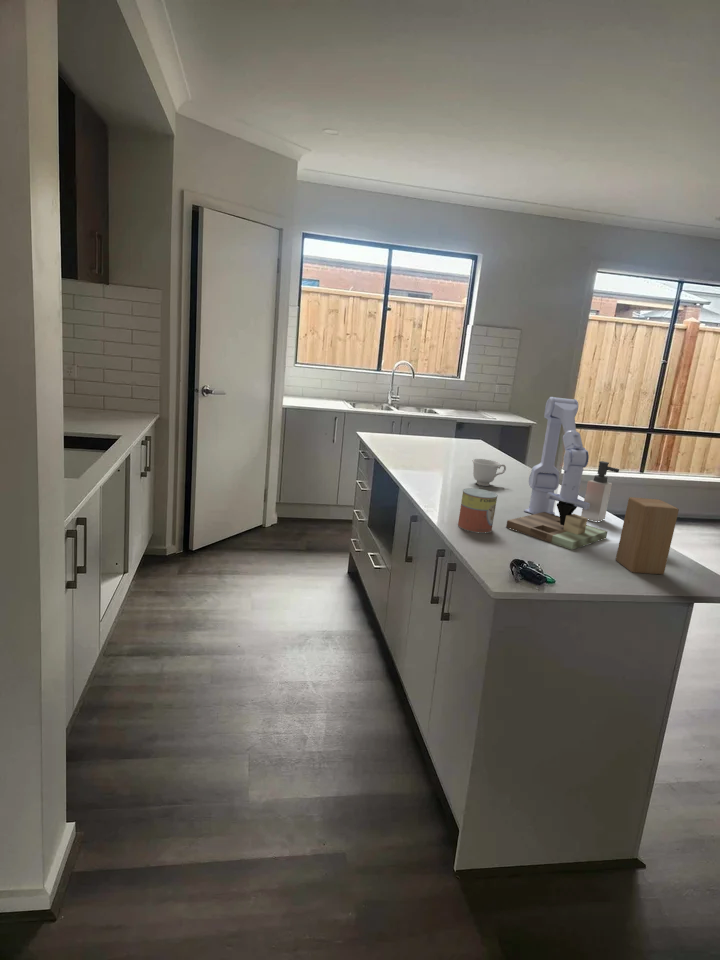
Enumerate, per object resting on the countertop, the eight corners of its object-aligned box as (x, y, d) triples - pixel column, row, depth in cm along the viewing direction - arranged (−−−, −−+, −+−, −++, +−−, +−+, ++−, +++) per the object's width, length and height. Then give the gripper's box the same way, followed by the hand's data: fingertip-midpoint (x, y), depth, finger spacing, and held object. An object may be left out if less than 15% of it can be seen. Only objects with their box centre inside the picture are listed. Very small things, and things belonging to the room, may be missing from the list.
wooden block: (614, 560, 188) (628, 496, 183) (646, 562, 189) (660, 499, 184) (631, 572, 178) (646, 506, 173) (664, 575, 179) (679, 508, 174)
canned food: (484, 535, 198) (490, 499, 195) (452, 526, 203) (457, 491, 201) (496, 528, 207) (502, 493, 205) (465, 520, 213) (470, 486, 210)
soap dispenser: (603, 524, 226) (615, 466, 221) (580, 518, 232) (591, 460, 227) (610, 522, 231) (622, 464, 226) (587, 515, 237) (599, 459, 232)
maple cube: (570, 528, 208) (573, 513, 207) (584, 532, 204) (587, 518, 203) (563, 529, 205) (566, 515, 203) (577, 534, 201) (580, 519, 200)
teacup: (505, 489, 266) (509, 467, 263) (471, 486, 265) (474, 463, 263) (500, 483, 277) (503, 461, 275) (467, 479, 277) (470, 457, 275)
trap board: (542, 518, 226) (544, 511, 225) (606, 538, 209) (607, 531, 209) (506, 527, 209) (507, 520, 209) (571, 549, 193) (573, 542, 192)
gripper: (544, 480, 206) (537, 519, 210) (585, 491, 196) (577, 532, 200) (555, 479, 211) (548, 517, 214) (595, 489, 201) (587, 529, 204)
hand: (563, 524), depth 207 cm, fingers closed
